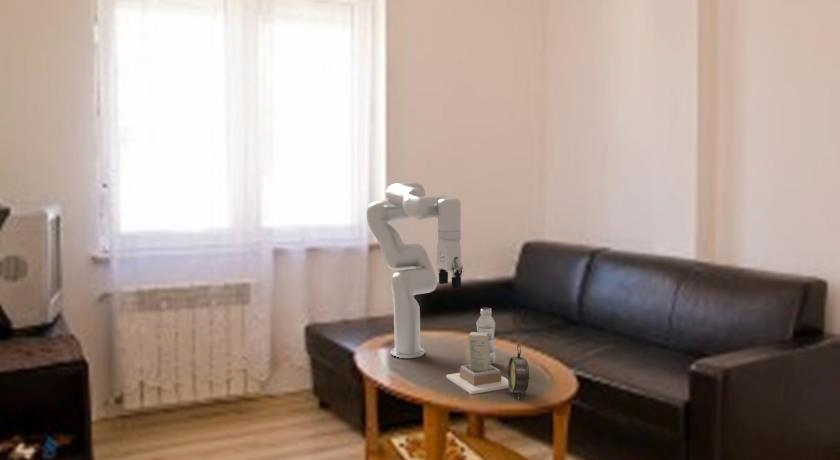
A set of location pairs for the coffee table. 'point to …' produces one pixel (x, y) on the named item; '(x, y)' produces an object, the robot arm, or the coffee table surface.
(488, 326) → the plastic bottle
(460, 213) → the robot arm
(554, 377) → the coffee table surface
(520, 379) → the alarm clock
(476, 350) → the skincare box
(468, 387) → the display base
